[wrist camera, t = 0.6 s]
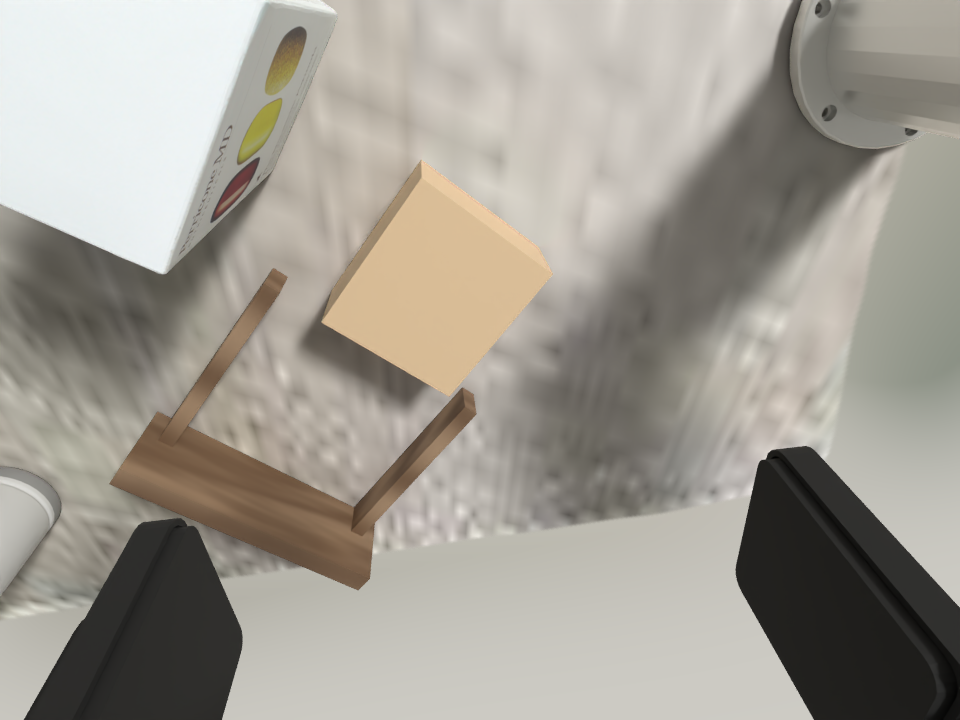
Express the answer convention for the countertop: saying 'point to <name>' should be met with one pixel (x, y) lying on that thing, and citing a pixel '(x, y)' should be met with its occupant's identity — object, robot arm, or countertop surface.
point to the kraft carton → (435, 282)
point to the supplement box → (148, 113)
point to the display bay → (272, 476)
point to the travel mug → (23, 518)
